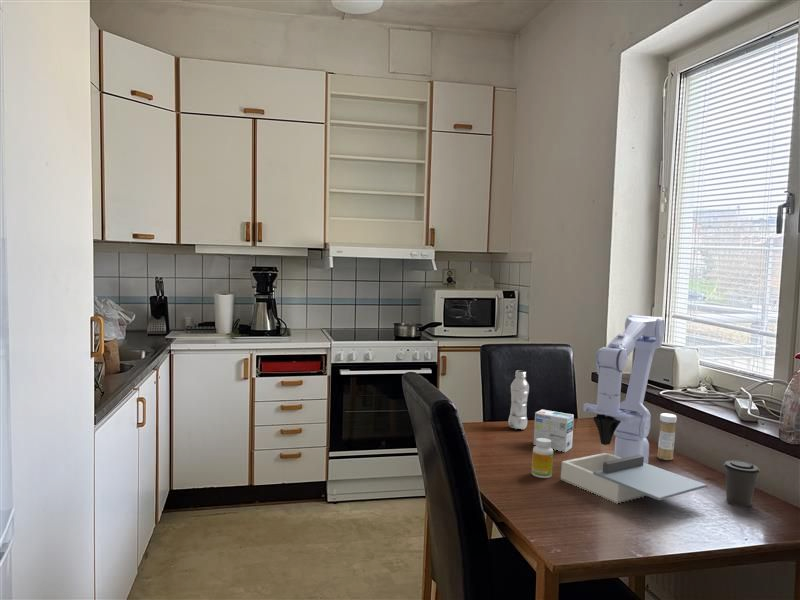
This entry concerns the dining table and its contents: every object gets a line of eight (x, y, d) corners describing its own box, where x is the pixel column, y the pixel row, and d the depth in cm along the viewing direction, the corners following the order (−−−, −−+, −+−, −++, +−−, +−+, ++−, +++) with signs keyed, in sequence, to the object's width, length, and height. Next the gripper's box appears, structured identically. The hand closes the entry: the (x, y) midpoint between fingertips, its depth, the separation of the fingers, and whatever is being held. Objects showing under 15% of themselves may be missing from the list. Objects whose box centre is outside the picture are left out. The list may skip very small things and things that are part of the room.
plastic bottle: (508, 430, 209) (511, 372, 208) (507, 425, 216) (511, 369, 214) (527, 432, 208) (530, 374, 207) (526, 427, 215) (530, 370, 213)
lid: (640, 463, 164) (640, 452, 164) (706, 487, 149) (707, 474, 149) (593, 474, 154) (593, 462, 154) (659, 500, 139) (660, 487, 139)
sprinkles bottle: (661, 454, 190) (665, 412, 189) (676, 459, 186) (679, 415, 185) (654, 457, 187) (657, 413, 186) (668, 461, 183) (672, 417, 182)
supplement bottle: (552, 479, 164) (554, 443, 163) (531, 477, 165) (533, 441, 164) (551, 472, 169) (553, 438, 168) (531, 470, 170) (533, 436, 169)
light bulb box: (572, 448, 193) (574, 414, 192) (565, 453, 187) (568, 418, 187) (539, 441, 199) (541, 408, 198) (532, 446, 193) (534, 412, 192)
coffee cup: (760, 510, 149) (764, 470, 148) (722, 504, 151) (726, 465, 151) (753, 499, 156) (757, 460, 156) (718, 493, 159) (721, 455, 158)
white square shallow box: (605, 469, 173) (606, 452, 173) (662, 491, 158) (664, 472, 158) (560, 479, 164) (561, 461, 163) (617, 504, 149) (618, 484, 148)
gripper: (576, 388, 166) (573, 438, 167) (622, 400, 154) (618, 453, 155) (594, 386, 170) (591, 435, 171) (640, 398, 157) (636, 450, 158)
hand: (605, 443), depth 163 cm, fingers closed
